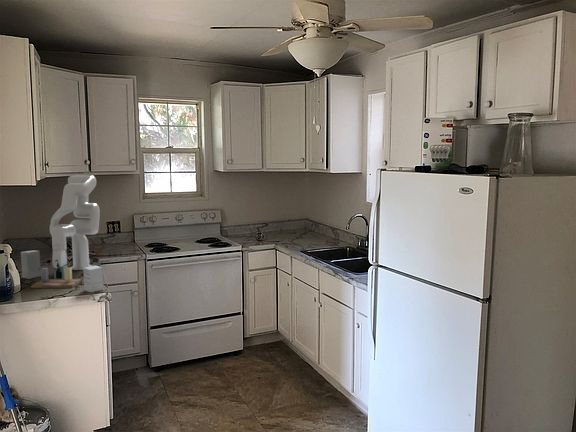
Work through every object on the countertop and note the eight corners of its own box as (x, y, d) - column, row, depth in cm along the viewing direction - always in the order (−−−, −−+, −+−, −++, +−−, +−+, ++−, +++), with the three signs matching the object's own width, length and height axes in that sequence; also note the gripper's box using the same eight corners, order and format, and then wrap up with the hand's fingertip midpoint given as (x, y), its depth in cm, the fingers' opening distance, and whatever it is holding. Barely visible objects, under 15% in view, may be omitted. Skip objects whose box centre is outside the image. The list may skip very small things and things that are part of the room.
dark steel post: (43, 281, 267) (43, 267, 266) (48, 281, 267) (48, 267, 266) (41, 282, 265) (40, 268, 264) (46, 282, 265) (45, 268, 264)
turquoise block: (58, 277, 283) (57, 264, 282) (68, 277, 283) (67, 264, 282) (54, 279, 277) (53, 267, 276) (64, 279, 278) (63, 266, 277)
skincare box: (29, 279, 278) (27, 252, 276) (21, 277, 281) (19, 251, 279) (42, 276, 285) (40, 250, 283) (34, 274, 288) (32, 249, 286)
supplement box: (97, 287, 261) (95, 265, 260) (103, 289, 256) (102, 267, 255) (84, 290, 256) (82, 267, 254) (90, 292, 251) (89, 269, 249)
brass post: (67, 281, 268) (66, 267, 267) (72, 281, 268) (71, 267, 267) (65, 282, 265) (64, 268, 264) (70, 282, 265) (69, 268, 264)
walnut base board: (43, 281, 273) (42, 279, 273) (81, 281, 274) (81, 278, 274) (31, 288, 259) (31, 285, 259) (72, 287, 260) (72, 285, 260)
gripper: (59, 244, 286) (60, 273, 288) (46, 250, 269) (48, 281, 271) (71, 244, 287) (73, 273, 289) (59, 250, 270) (61, 280, 272)
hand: (61, 276), depth 280 cm, fingers closed on turquoise block, 5 cm apart
